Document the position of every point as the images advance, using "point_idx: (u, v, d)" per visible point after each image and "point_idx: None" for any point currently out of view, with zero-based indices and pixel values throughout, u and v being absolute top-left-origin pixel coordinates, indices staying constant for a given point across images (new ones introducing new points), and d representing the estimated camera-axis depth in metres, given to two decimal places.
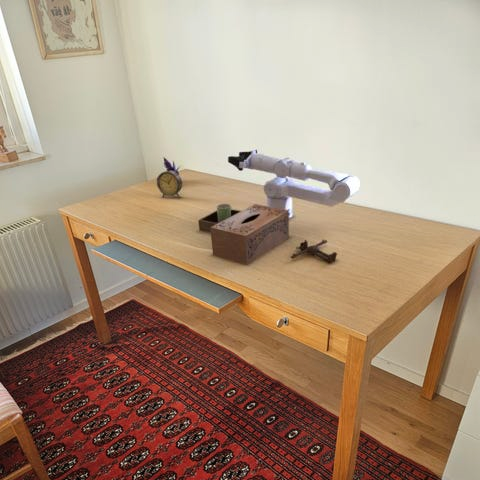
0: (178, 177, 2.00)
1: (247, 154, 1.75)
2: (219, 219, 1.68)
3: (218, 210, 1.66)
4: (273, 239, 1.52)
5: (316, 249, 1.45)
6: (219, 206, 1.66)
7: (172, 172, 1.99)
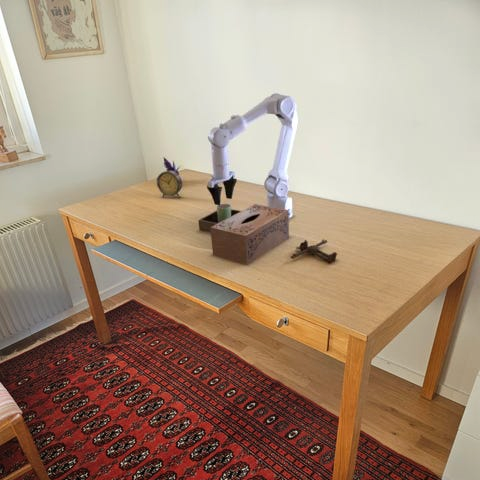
0: (178, 177, 2.00)
1: (226, 188, 1.66)
2: (219, 219, 1.68)
3: (218, 210, 1.66)
4: (273, 239, 1.52)
5: (316, 249, 1.45)
6: (219, 206, 1.66)
7: (172, 172, 1.99)
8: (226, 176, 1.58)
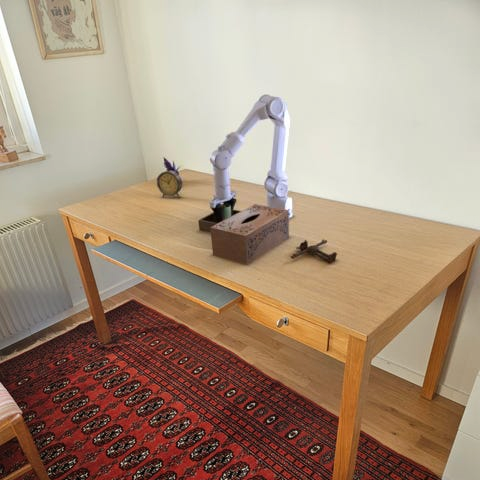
0: (178, 177, 2.00)
1: None
2: None
3: None
4: (273, 239, 1.52)
5: (316, 249, 1.45)
6: None
7: (172, 172, 1.99)
8: (227, 196, 1.62)
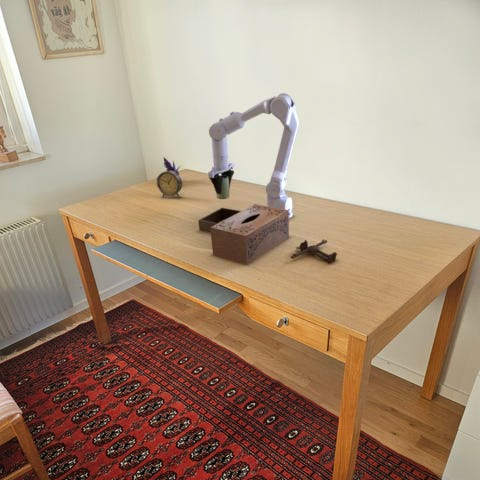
0: (178, 177, 2.00)
1: None
2: None
3: None
4: (273, 239, 1.52)
5: (316, 249, 1.45)
6: None
7: (172, 172, 1.99)
8: (225, 167, 1.70)
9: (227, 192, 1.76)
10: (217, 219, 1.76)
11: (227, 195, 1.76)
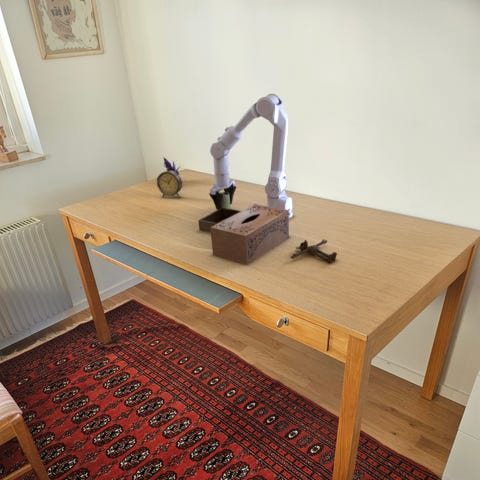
0: (178, 177, 2.00)
1: None
2: None
3: None
4: (273, 239, 1.52)
5: (316, 249, 1.45)
6: None
7: (172, 172, 1.99)
8: (226, 184, 1.76)
9: (228, 208, 1.82)
10: (217, 219, 1.76)
11: None
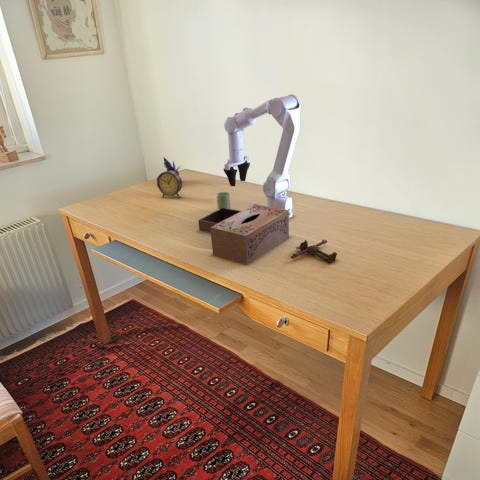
0: (178, 177, 2.00)
1: (240, 171, 1.84)
2: (219, 206, 1.81)
3: (218, 198, 1.79)
4: (273, 239, 1.52)
5: (316, 249, 1.45)
6: (219, 194, 1.80)
7: (172, 172, 1.99)
8: (241, 160, 1.76)
9: (228, 208, 1.82)
10: (217, 219, 1.76)
11: None
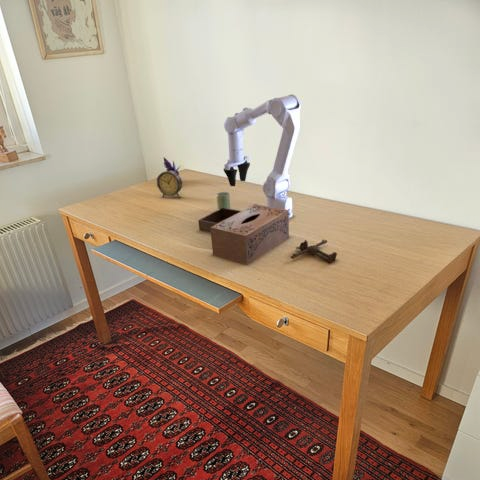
0: (178, 177, 2.00)
1: (240, 171, 1.84)
2: (219, 206, 1.81)
3: (218, 198, 1.79)
4: (273, 239, 1.52)
5: (316, 249, 1.45)
6: (219, 194, 1.80)
7: (172, 172, 1.99)
8: (241, 160, 1.76)
9: (228, 208, 1.82)
10: (217, 219, 1.76)
11: None
